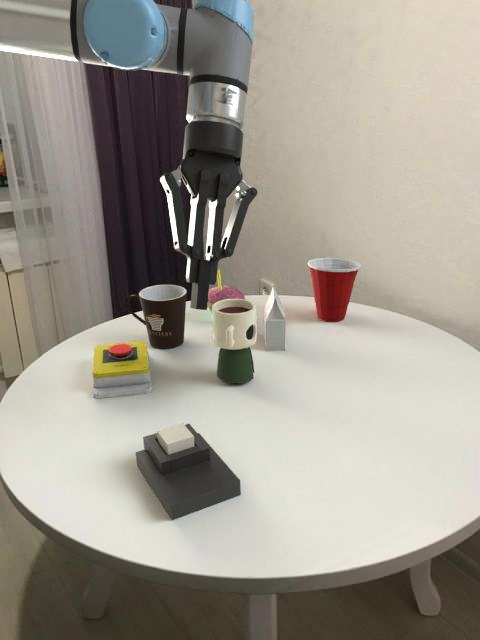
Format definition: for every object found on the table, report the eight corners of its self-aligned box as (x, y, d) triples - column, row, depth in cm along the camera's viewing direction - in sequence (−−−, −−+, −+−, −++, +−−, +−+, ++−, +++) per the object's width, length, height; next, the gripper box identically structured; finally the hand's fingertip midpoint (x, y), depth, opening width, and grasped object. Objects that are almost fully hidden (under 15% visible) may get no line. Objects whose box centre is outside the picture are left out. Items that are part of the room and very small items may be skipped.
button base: (136, 465, 77) (133, 439, 76) (199, 445, 81) (197, 420, 80) (171, 520, 68) (169, 493, 66) (240, 495, 72) (240, 468, 70)
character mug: (252, 395, 94) (252, 320, 88) (208, 393, 94) (205, 318, 89) (260, 364, 103) (260, 295, 98) (220, 362, 104) (218, 293, 99)
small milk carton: (283, 335, 115) (283, 286, 111) (285, 350, 109) (286, 299, 105) (264, 335, 115) (264, 286, 111) (265, 350, 109) (265, 299, 104)
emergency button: (146, 331, 106) (150, 368, 93) (148, 352, 108) (152, 392, 95) (93, 335, 104) (89, 374, 91) (96, 357, 106) (93, 398, 93)
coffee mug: (198, 341, 112) (196, 292, 108) (162, 356, 107) (158, 304, 102) (161, 325, 120) (157, 278, 115) (125, 337, 114) (120, 289, 110)
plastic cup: (363, 312, 126) (367, 257, 121) (349, 330, 117) (353, 272, 112) (315, 304, 130) (317, 251, 125) (298, 321, 121) (299, 265, 116)
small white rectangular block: (157, 441, 76) (156, 430, 75) (183, 434, 77) (182, 422, 77) (168, 456, 73) (167, 444, 72) (194, 447, 75) (194, 436, 74)
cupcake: (230, 330, 117) (229, 272, 112) (195, 322, 121) (192, 266, 116) (252, 316, 124) (252, 261, 119) (219, 309, 127) (217, 255, 122)
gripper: (173, 108, 70) (156, 306, 72) (272, 130, 75) (254, 314, 78) (158, 122, 77) (143, 303, 79) (250, 141, 82) (234, 310, 84)
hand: (198, 308), depth 78 cm, fingers closed
